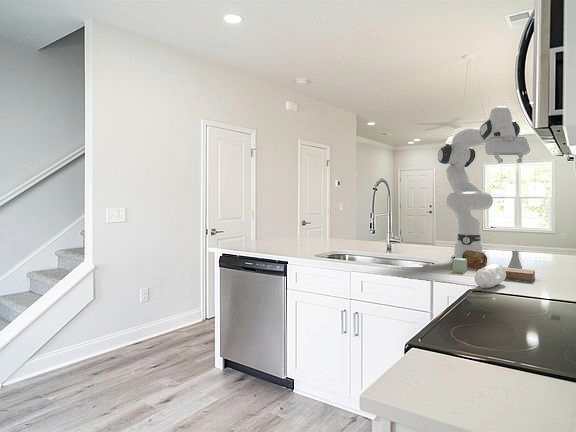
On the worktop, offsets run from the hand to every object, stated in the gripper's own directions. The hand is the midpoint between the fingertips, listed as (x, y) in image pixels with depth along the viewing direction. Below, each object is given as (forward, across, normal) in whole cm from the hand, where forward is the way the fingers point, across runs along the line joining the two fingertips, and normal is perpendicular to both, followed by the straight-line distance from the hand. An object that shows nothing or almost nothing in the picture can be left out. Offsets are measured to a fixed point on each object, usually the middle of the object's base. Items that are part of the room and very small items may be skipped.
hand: (510, 162), depth 180 cm
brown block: (+55, +7, 0) cm, 56 cm away
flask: (+50, -2, -15) cm, 52 cm away
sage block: (+49, +24, -17) cm, 57 cm away
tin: (+46, +11, -26) cm, 54 cm away
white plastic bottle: (+60, +28, +14) cm, 67 cm away
